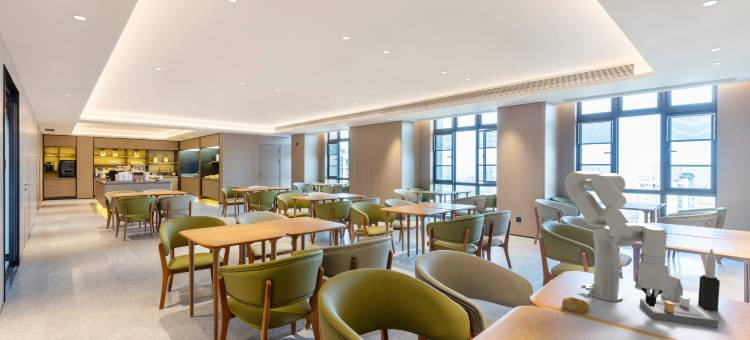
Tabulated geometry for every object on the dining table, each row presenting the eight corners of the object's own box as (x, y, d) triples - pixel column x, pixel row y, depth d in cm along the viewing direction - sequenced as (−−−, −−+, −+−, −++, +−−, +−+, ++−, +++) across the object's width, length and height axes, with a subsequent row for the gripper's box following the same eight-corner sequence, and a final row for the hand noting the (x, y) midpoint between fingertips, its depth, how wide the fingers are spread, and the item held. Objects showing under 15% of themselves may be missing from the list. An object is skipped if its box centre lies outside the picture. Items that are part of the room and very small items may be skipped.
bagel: (594, 309, 149) (594, 298, 149) (582, 317, 142) (582, 305, 142) (569, 302, 157) (569, 291, 157) (556, 309, 150) (557, 297, 150)
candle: (719, 311, 149) (723, 251, 148) (704, 310, 150) (708, 250, 149) (710, 306, 154) (714, 248, 153) (696, 305, 155) (700, 247, 154)
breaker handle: (667, 311, 140) (667, 303, 140) (664, 308, 143) (664, 300, 143) (673, 312, 140) (674, 304, 140) (670, 309, 143) (670, 301, 142)
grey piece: (674, 302, 158) (675, 279, 158) (660, 296, 165) (662, 274, 164) (682, 302, 159) (683, 279, 158) (668, 295, 165) (669, 274, 165)
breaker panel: (653, 319, 141) (654, 303, 140) (639, 305, 154) (640, 290, 154) (718, 328, 134) (719, 311, 134) (698, 312, 148) (699, 296, 147)
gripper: (633, 259, 141) (631, 306, 142) (680, 263, 136) (678, 312, 137) (627, 254, 148) (625, 299, 149) (671, 258, 144) (669, 304, 144)
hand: (650, 305), depth 143 cm, fingers closed
